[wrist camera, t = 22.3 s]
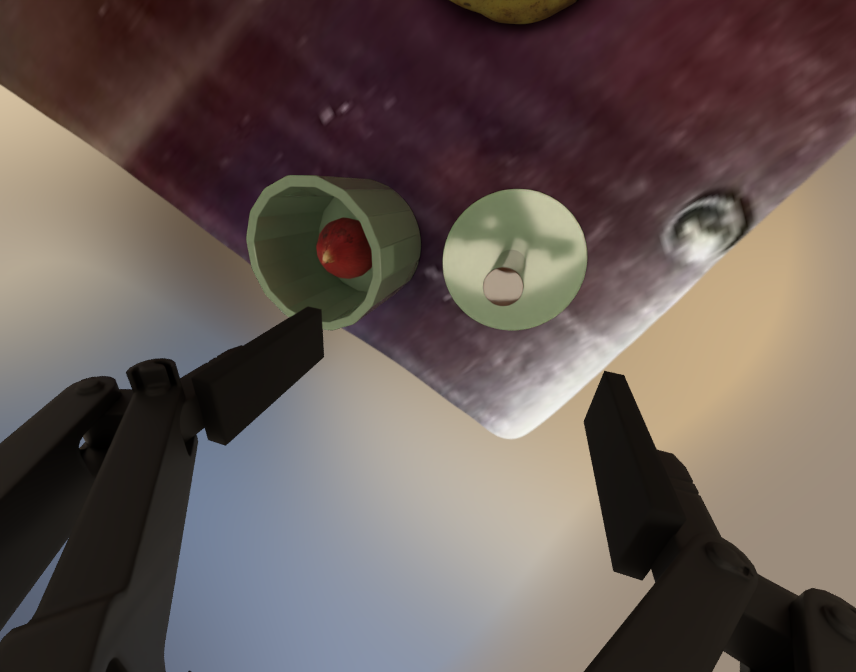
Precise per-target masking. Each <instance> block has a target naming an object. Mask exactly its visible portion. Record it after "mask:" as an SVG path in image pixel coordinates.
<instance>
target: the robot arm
mask: <svg viewBox="0 0 856 672" xmlns="http://www.w3.org/2000/svg"><path fill="white" fill-rule="evenodd" d="M323 357H324V348H323V328H322V309H318V308H313V307H309V306H307V307H306V308H304V309H302V310H301V311H299V312H297V313H296V314H294V315H293V316H291V317H289V318H288V319H286V320H284V321H283V322H281V323H280V324H278V325H276V326H275V327H273V328H271V329H270V330H268V331H267V332H265V333H263V334H262V335H260V336H258V337H257V338H255V339H254V340H252V341H250V342H249V343H247V344H245V345H244V346H242V345H241V346H238V347H235V348H232V349H229V350H227V351H225V352H224V353H222V354H221V355H218V356H217V358H213V359H212V360H210V361H209V362H208V363H205V364H204V365H202V366H200V367H198V368H197V369H195V370H193V371H192V372H190V373H188V374H187V375H185V376H183V377H182V378H180V377H179V374H178V370H177V367H176V364H175V362H174V361H173V360H170V359H165V358H164V359H163V358H160V359H151V360H147V361H143V362H140V363H138V364H136V365H134V366H132V367H130V368H129V369H128V370H127V372H126V374H127V377H128V379H129V381H130V384H131V387H132V390H131V389H119V388H118V385H117V383H116V380H115V379H114V378H112V377H108V376H99V377H91V378H86V379H83V380H81V381H79V382H76V383H74V384H72V385H71V386H69V387H67V388H66V389H65V390H64V391H62V392H61V393H60V394H59V395H58V396H56V397H55V398H54V399H53V400H52V401H50V402H49V403H48V404H47V405H46V406H44V407H43V408H42V409H41V410H40V411H38V412H37V413H36V414H35V415H34V416H32V417H31V418H30V419H29V420H28V421H27V422H25V423H24V424H23V425H22V426H20V427H19V428H18V429H17V430H16V431H14V432H13V433H12V434H11V435H10V436H9V437H7V438H6V439H5V440H4V441H3V442H1V443H0V631H1V630H2V628H3V627H4V625H5V624H6V623H7V621H8V620H9V619H10V617H11V616H12V614H13V613H14V612H15V610H16V608H18V606H19V605H20V604H21V602H22V601H23V599H24V598H25V597H26V595H27V594H28V592H29V591H30V590H31V588H32V587H33V586H34V584H35V583H36V582H37V580H38V579H39V577H40V576H41V575H42V573H43V572H44V571H45V569H46V568H47V567H48V565H49V564H50V563H51V561H52V560H53V558H54V557H55V556H56V554H57V553H58V552H59V550H60V549H61V547H62V546H63V545H64V543H65V542H66V541H67V539H68V538H69V539H68V541H67V543H66V546H65V548H64V550H63V552H62V554H61V557H60V559H59V561H58V564H57V566H56V568H55V570H54V573H53V575H52V577H51V579H50V581H49V584H48V586H47V588H46V590H45V593H44V595H43V597H42V600H41V601H40V604H39V606H38V608H37V611H36V612H35V614H34V616H33V617H32V619H31V620H30V621H29V622H28V623H27V624H25V625H22V626H19V627H16V628H14V629H12V630H11V631H10V632H9V633H8V634H7V635H6V636H4V637H3V639H2V640H1V642H0V672H166V671H165V662H164V647H165V640H166V633H167V627H168V621H169V615H170V609H171V603H172V597H173V591H174V585H175V579H176V573H177V567H178V561H179V555H180V549H181V542H182V536H183V530H184V524H185V518H186V512H187V506H188V500H189V493H190V488H191V482H192V476H193V470H194V463H195V457H196V451H197V445H198V438H197V435H196V434H197V433H198V432H200V431H201V430H202V429H203V428H205V430H206V434H207V438H208V440H210V441H213V442H216V443H219V444H222V445H227V444H228V443H229V442H230V441H231V440H233V439H234V438H235V437H236V436H237V435H238V434H239V433H240V432H241V431H242V430H244V429H245V428H246V427H247V426H248V425H249V424H250V423H251V422H253V420H255V419H256V418H257V417H258V416H259V415H260V414H261V413H262V412H264V411H265V410H266V409H267V408H268V407H269V406H270V405H271V404H272V403H274V402H275V401H276V400H277V399H278V398H279V397H280V396H281V395H282V394H283V393H285V392H286V391H287V390H288V389H289V388H290V387H291V386H292V385H294V384H295V383H296V382H297V381H298V380H299V379H300V378H301V377H302V376H303V375H305V374H306V373H307V372H308V371H309V370H310V369H311V368H312V367H313V366H314V365H316V364H317V363H318V362H319V361H320V360H321V359H322V358H323ZM584 425H585V431H586V436H587V441H588V445H589V451H590V456H591V460H592V466H593V471H594V476H595V481H596V486H597V491H598V496H599V501H600V506H601V511H602V516H603V521H604V527H605V532H606V537H607V542H608V547H609V552H610V556H611V562H612V567H613V571H614V572H617V573H620V574H623V575H626V576H630V577H633V578H636V579H639V580H643V579H644V578H645V576H646V575H647V574H648V572H649V571H650V569H651V570H652V573H653V577H654V580H655V584H654V585H653V587H652V588H651V589H650V590H649V592H648V593H647V594H646V595H645V596H644V598H643V599H642V600H641V601H640V603H639V604H638V605H637V606H636V607H635V609H634V610H633V611H632V612H631V614H630V615H629V616H628V618H627V619H626V620H625V621H624V622H623V624H622V625H621V626H620V627H619V629H618V630H617V631H616V632H615V634H614V635H613V636H612V637H611V639H610V640H609V641H608V642H607V643H606V645H605V646H604V647H603V648H602V650H601V651H600V652H599V653H598V655H597V656H596V657H595V658H594V660H593V661H592V662H591V663H590V665H589V666H588V667H587V668H586V670H585V671H584V672H712V671H713V669H714V667H715V665H716V663H717V662H718V660H719V658H720V656H721V654H722V652H723V651H724V652H726V653H727V654H729V655H730V656H732V657H734V658H735V659H737V660H738V661H740V672H856V608H855V607H853V606H852V605H850V604H849V603H847V602H846V601H844V600H843V599H841V598H840V597H838V596H836V595H833V594H831V593H829V592H827V591H825V590H820V589H815V588H811V589H808V590H806V591H804V592H803V593H802V594H801V595H799V596H798V595H796V594H794V593H792V592H790V591H788V590H786V589H784V588H783V587H781V586H779V585H777V584H775V583H773V582H771V581H770V580H768V579H766V578H764V577H762V576H761V575H759V574H757V572H756V569H755V567H754V565H753V564H752V563H751V561H750V560H749V559H748V558H747V556H746V555H745V554H744V553H743V552H741V551H740V550H739V549H738V548H737V547H736V546H734V545H733V544H732V543H730V542H728V541H727V540H725V539H724V538H722V537H721V535H720V533H719V531H718V530H717V528H716V526H715V524H714V522H713V520H712V518H711V516H710V514H709V512H708V510H707V508H706V506H705V504H704V502H703V500H702V498H701V496H699V495H698V493H699V492H698V490H697V488H696V486H695V484H693V480H692V478H691V477H690V475H689V473H688V471H687V469H686V467H685V466H684V465H683V464H682V463H681V462H680V461H679V460H678V459H677V458H676V456H675V455H674V454H672V453H668V452H664V451H659V450H657V449H656V447H655V445H654V443H653V440H652V438H651V436H650V433H649V431H648V429H647V427H646V425H645V422H644V420H643V418H642V415H641V413H640V411H639V409H638V406H637V404H636V401H635V399H634V397H633V394H632V392H631V390H630V388H629V386H628V383H627V381H626V379H625V376H624V375H621V374H616V373H612V372H607V371H604V373H603V376H602V378H601V380H600V383H599V385H598V388H597V390H596V393H595V395H594V398H593V400H592V403H591V405H590V407H589V410H588V412H587V414H586V417H585V419H584ZM82 437H83V438H84V440H85V443H84V444H83V445H82V446H81V447H80V448H79V443H80V440H81V439H82ZM188 672H191V671H188Z"/></svg>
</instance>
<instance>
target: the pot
mask: <svg viewBox="0 0 856 672" xmlns="http://www.w3.org/2000/svg"><path fill="white" fill-rule="evenodd" d="M343 217H344V218H350V219H355V220H359V221H360V223H361V226H362V228H363V230H364V233H365V235H366V238H367V240H368V243H369V245H370V247H371V250H372V268H371V269H370V270H368V271H367V272H366V273H365V274H364V275H362V276H359V277H356V278H352V279H346V278H339V277H336V276H335V275H333V274H331V273H329V272H328V271H326V269H325V268H324V267H323V266H322V264H321V263H320V261H319V258H318V256H317V250H316V245H317V242H318V238H319V234H320V233H321V231H322V230H323V228H324V227H325V226H326V225H327V224H328V223H329V222H331V221H334V220H337V219H340V218H343ZM246 239H247V240H246V241H247V246H248V251H249V257H250V262H251V267H252V270H253V272H254V274H255V276H256V277H257V280H258V282H259V283H260V285H261V287H262V289H263V291H264V293H265V294H266V296H268V298H269V299H270V300H271V301H272V302H273V303H274V304H275V305H276V306H277V307H278V308H279V309H280V310H281V311H282V312H283V313H284V314H285V315H286V316H288V317H291V316H293V315H294V314H296V313H297V312H299V311H301V310H302V309H304V308H306V307H307V306H309V307H313V308H318V309H322V328H323V329H324V330H336V329H339V328H342V327H346V326H349V325H352V324H355V323H356V322H358V321H359V320H360V319H362V318H363V317H364V316H366V315H367V314H368V313H370V312H371V311H373V310H374V309H375V308H377V307H378V306H379V305H381V304H382V303H383V302H385V301H386V300H388V299H389V298H390V297H392V296H393V295H394V294H396V293H397V292H398V291H399V290H400V289H401V288H402V287H404V286H405V285H406V284H407V283H408V282H409V281H410V279H411V278H412V276H413V274H414V272H415V270H416V268H417V265H418V262H419V258H420V252H421V237H420V232H419V227H418V224H417V221H416V219H415V216H414V214H413V212H412V211H411V209H410V207H409V206H408V204H407V203H406V202H405V200H404V199H403V198H402V197H401V196H400V195H399V194H398V193H396V192H395V191H394V190H393V189H391V188H389V187H388V186H386V185H384V184H382V183H379V182H376V181H374V180H372V179H358V178H344V177H329V176H306V175H288V176H286V177H284V178H282V179H280V180H279V181H277V182H275V183H273V184H272V185H270V186H268V187H266V188H265V189H264V190H263V192H262V193H261V195H260V196H259V198H258V200H257V201H256V203H255V204H254V206H253V208H252V209H251V212H250V216H249V223H248V230H247V237H246Z"/></svg>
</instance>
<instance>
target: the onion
mask: <svg viewBox="0 0 856 672" xmlns="http://www.w3.org/2000/svg"><path fill="white" fill-rule="evenodd" d="M316 250H317V256H318V258H319V261H320V263H321V264H322V266H323V267H324V268H325V269H326V271H328V272H329V273H331V274H333V275H335V276H336V277H339V278H346V279H352V278H356V277H359V276H362V275H364V274H365V273H366V272H367V271H368V270H370V269H371V268H372V250H371V247H370V245H369V243H368V240H367V238H366V235H365V233H364V230H363V228H362V226H361V223H360V221H359V220H355V219H350V218H344V217H343V218H340V219H337V220H334V221H331V222H329V223H328V224H327V225H326V226H325V227H324V228H323V230H322V231H321V233H320V234H319V238H318V242H317V245H316Z"/></svg>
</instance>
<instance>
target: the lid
mask: <svg viewBox="0 0 856 672" xmlns="http://www.w3.org/2000/svg"><path fill="white" fill-rule="evenodd" d="M586 266H587V247H586V241H585V238H584V235H583V232H582V229H581V227H580V225H579V223H578V222H577V220H576V219H575V217H574V216H573V214H572V213H571V212H570V211H569V210H568V209H567V208H566V207H565V206H564V205H562V204H561V203H560V202H559V201H557V200H555V199H554V198H552V197H550V196H548V195H546V194H543V193H541V192H537V191H533V190H527V189H508V190H503V191H498V192H495V193H492V194H489V195H487V196H485V197H483V198H481V199H479V200H478V201H476V202H475V203H473V204H472V205H471V206H470V207H468V208H467V209H466V210H465V211H464V212H463V213H462V214H461V215H460V217H459V218H458V219H457V220H456V222H455V223H454V225H453V226H452V228H451V230H450V232H449V234H448V237H447V240H446V243H445V247H444V251H443V273H444V278H445V282H446V285H447V288H448V290H449V292H450V294H451V296H452V298H453V299H454V301H455V302H456V303H457V305H458V306H459V307H460V308H461V309H462V310H463V311H464V312H465V313H466V314H467V315H468V316H470V317H471V318H472V319H474V320H476V321H477V322H479V323H481V324H484V325H486V326H489V327H492V328H496V329H501V330H523V329H529V328H532V327H535V326H539V325H541V324H543V323H545V322H547V321H549V320H551V319H552V318H554V317H555V316H557V315H558V314H559V313H561V312H562V311H563V310H564V309H565V308H566V307H567V306H568V305H569V304H570V303H571V301H572V300H573V299H574V297H575V296H576V294H577V292H578V291H579V289H580V287H581V284H582V282H583V279H584V276H585V272H586Z"/></svg>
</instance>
